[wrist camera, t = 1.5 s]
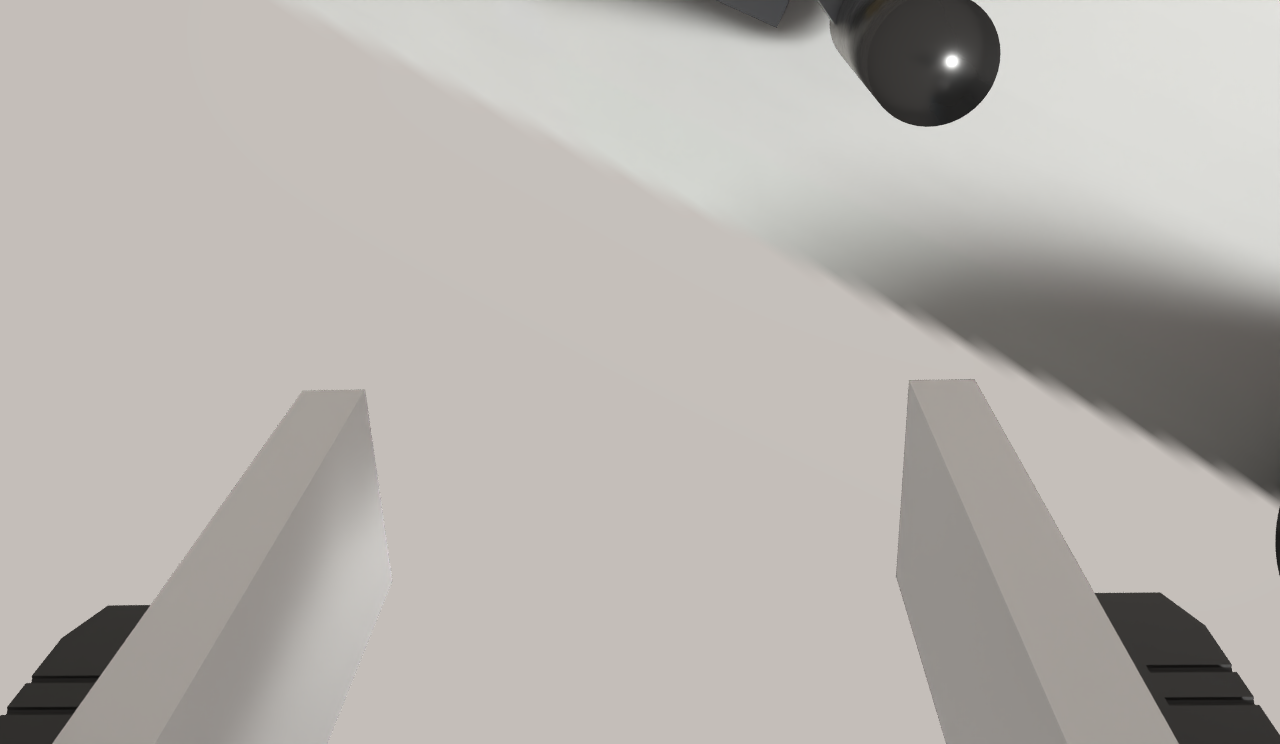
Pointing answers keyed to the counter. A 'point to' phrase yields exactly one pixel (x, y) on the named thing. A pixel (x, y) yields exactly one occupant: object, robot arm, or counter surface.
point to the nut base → (760, 9)
